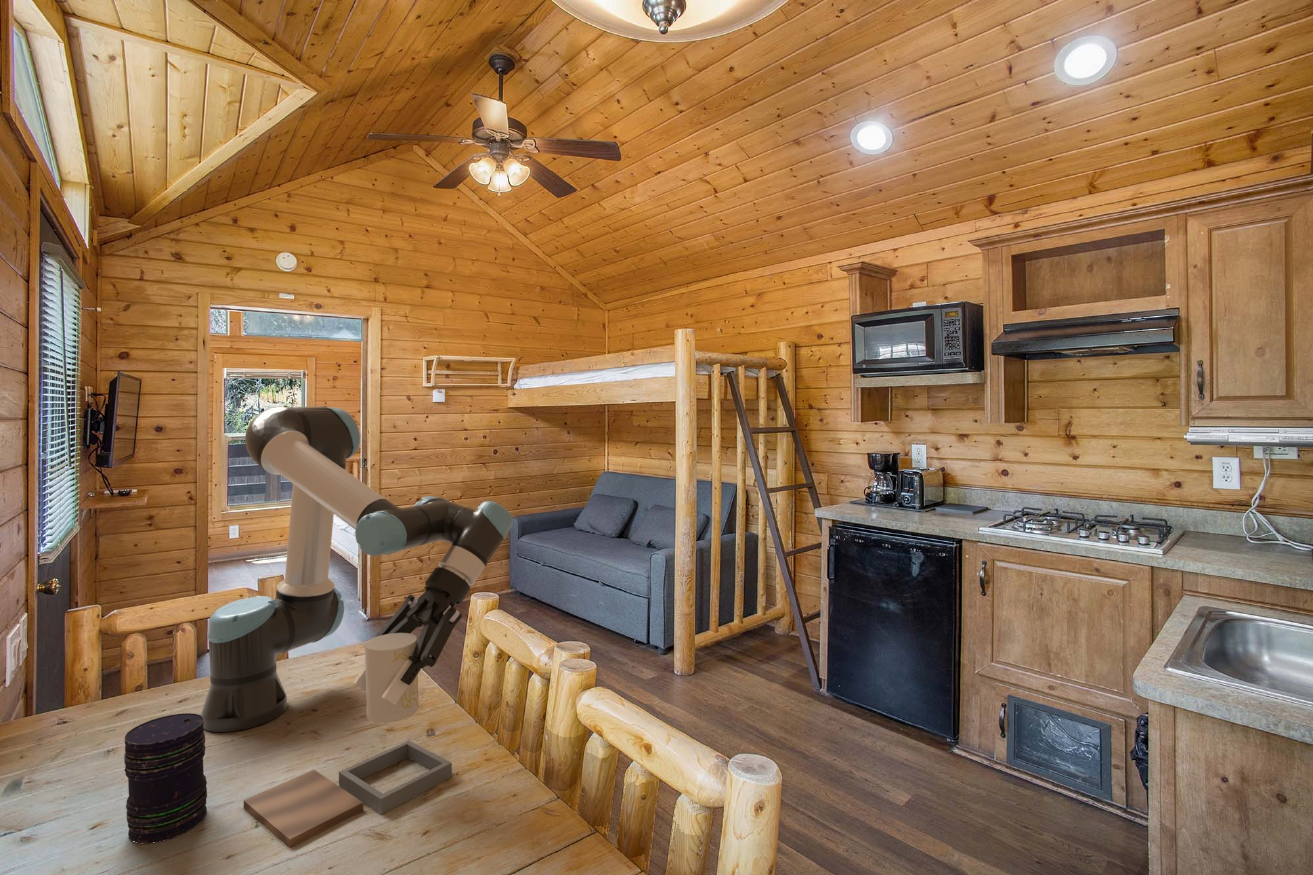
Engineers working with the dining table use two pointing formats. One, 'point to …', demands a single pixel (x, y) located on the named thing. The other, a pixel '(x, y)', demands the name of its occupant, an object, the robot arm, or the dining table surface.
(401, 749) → the square collar
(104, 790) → the dining table surface
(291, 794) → the walnut board
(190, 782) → the dark purple cylinder
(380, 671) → the cup
